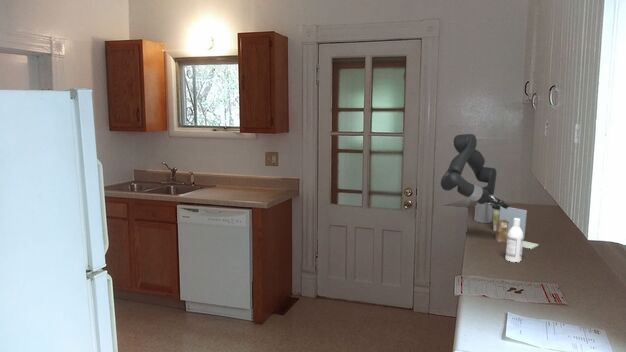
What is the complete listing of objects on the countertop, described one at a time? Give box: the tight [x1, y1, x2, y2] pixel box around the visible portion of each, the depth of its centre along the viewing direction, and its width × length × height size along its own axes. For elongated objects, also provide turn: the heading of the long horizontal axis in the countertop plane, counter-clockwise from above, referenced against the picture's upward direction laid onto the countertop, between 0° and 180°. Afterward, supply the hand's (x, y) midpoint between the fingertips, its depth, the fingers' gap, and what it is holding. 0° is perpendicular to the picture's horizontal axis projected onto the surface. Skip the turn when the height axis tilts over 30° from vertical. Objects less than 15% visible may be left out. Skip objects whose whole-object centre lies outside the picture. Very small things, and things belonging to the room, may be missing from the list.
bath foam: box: [504, 218, 525, 263], centre depth 231 cm, size 7×7×20 cm
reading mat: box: [523, 240, 539, 250], centre depth 257 cm, size 9×9×1 cm
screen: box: [499, 207, 528, 241], centre depth 270 cm, size 14×6×16 cm, turn 45°
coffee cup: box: [492, 204, 510, 232], centre depth 282 cm, size 10×10×15 cm
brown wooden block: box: [494, 220, 509, 243], centre depth 262 cm, size 4×5×11 cm
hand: (502, 206), depth 257 cm, fingers open, 8 cm apart
